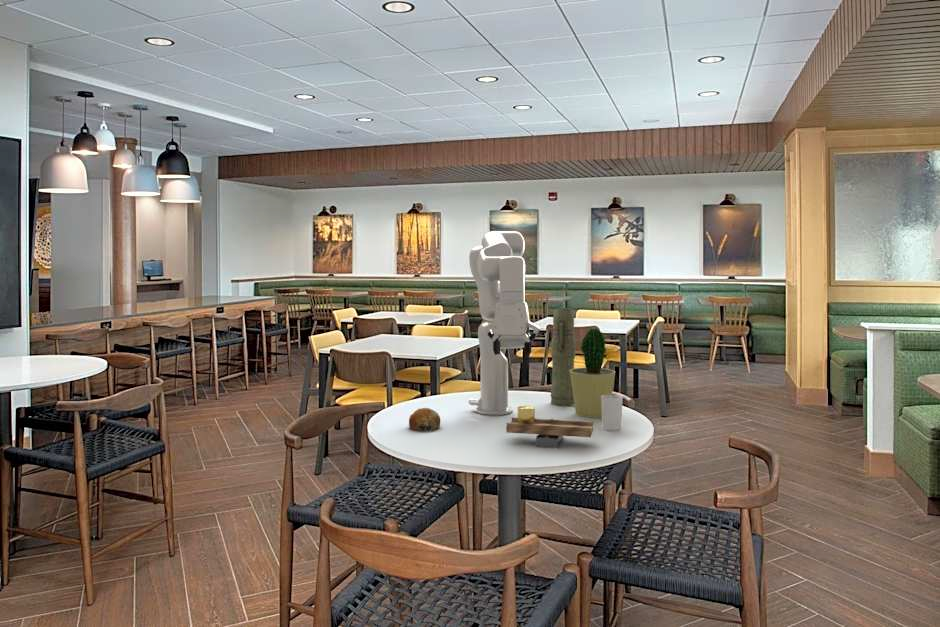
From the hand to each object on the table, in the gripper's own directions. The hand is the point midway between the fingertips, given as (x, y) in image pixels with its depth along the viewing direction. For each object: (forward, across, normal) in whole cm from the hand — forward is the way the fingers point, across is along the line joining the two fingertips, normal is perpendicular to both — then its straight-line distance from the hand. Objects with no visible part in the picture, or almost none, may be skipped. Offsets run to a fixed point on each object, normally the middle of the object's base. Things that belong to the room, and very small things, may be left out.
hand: (512, 354), depth 214 cm
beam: (+21, +13, -4) cm, 25 cm away
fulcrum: (+25, +13, -4) cm, 28 cm away
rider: (+20, +6, -5) cm, 21 cm away
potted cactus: (+24, +14, +39) cm, 48 cm away
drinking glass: (+24, +25, +21) cm, 41 cm away
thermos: (+23, 0, +52) cm, 57 cm away
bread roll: (+24, -29, -3) cm, 38 cm away
